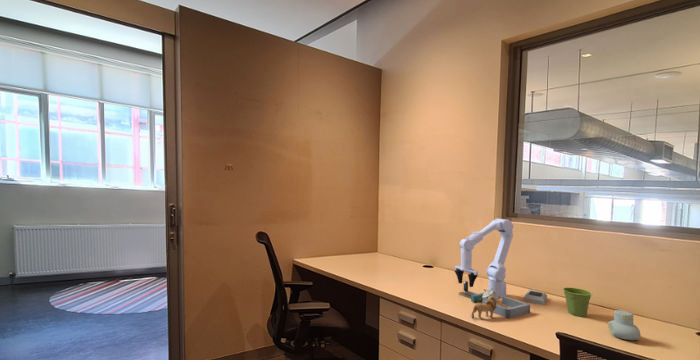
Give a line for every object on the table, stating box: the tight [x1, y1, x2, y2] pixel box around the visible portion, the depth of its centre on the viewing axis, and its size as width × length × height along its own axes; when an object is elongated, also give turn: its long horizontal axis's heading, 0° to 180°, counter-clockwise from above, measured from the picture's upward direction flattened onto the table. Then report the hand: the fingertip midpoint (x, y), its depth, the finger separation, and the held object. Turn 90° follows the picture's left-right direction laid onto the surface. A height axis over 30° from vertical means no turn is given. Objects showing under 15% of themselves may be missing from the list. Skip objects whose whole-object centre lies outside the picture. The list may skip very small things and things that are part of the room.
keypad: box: [523, 289, 548, 306], centre depth 172 cm, size 10×4×15 cm
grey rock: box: [482, 288, 500, 303], centre depth 161 cm, size 9×8×10 cm
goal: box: [481, 296, 531, 319], centre depth 153 cm, size 17×14×4 cm
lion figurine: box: [470, 296, 498, 321], centre depth 143 cm, size 15×5×9 cm, turn 116°
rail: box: [458, 291, 471, 300], centre depth 173 cm, size 3×10×1 cm, turn 29°
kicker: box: [463, 280, 483, 303], centre depth 171 cm, size 11×11×8 cm
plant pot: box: [562, 287, 593, 318], centre depth 151 cm, size 12×12×11 cm
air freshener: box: [607, 309, 642, 341], centre depth 127 cm, size 11×8×10 cm
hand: (465, 284), depth 175 cm, fingers open, 7 cm apart
